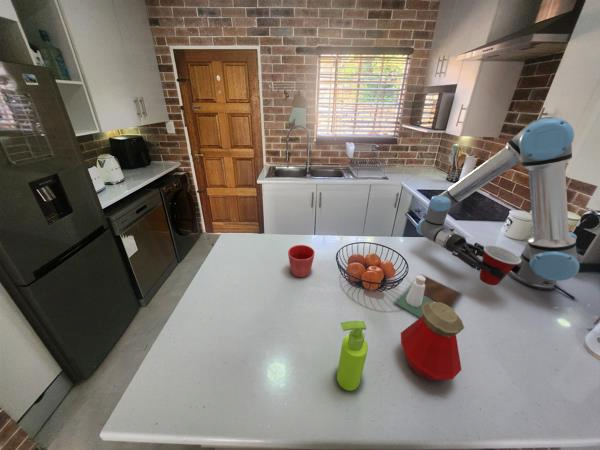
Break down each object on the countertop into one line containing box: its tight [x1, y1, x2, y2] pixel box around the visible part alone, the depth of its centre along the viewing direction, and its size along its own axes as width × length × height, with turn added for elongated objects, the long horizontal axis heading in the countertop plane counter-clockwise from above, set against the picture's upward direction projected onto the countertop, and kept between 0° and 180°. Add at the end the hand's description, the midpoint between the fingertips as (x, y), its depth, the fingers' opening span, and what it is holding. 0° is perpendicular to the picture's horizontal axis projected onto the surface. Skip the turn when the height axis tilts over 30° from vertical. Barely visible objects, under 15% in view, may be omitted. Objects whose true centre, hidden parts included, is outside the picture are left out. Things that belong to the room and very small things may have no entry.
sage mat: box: [395, 289, 434, 319], centre depth 87 cm, size 14×11×1 cm
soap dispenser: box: [336, 320, 369, 392], centre depth 59 cm, size 6×7×20 cm
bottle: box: [400, 301, 465, 382], centre depth 63 cm, size 16×14×20 cm
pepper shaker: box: [406, 275, 426, 307], centre depth 86 cm, size 5×5×11 cm
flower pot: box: [287, 244, 316, 278], centre depth 101 cm, size 11×11×10 cm
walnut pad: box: [423, 275, 461, 308], centre depth 95 cm, size 14×11×1 cm
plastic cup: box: [479, 245, 521, 286], centre depth 87 cm, size 11×11×12 cm
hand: (511, 273), depth 84 cm, fingers closed on plastic cup, 8 cm apart
